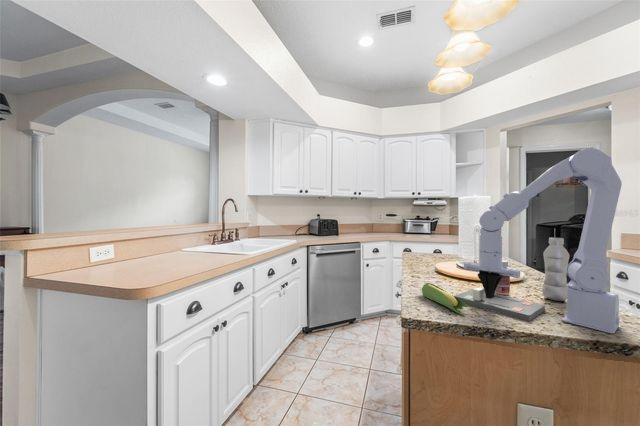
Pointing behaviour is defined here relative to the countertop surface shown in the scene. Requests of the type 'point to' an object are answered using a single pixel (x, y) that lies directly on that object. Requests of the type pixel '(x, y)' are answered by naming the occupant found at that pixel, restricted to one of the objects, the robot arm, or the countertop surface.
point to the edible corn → (443, 297)
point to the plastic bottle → (555, 270)
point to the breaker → (478, 294)
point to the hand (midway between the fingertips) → (489, 297)
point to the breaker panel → (504, 305)
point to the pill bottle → (504, 282)
